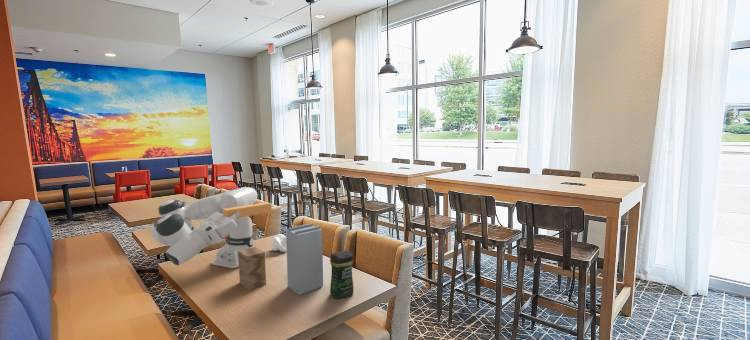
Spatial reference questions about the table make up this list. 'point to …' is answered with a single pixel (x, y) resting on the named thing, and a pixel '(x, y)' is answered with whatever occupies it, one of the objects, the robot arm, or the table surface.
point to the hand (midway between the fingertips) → (236, 211)
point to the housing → (304, 258)
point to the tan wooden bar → (248, 210)
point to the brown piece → (252, 267)
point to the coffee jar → (341, 274)
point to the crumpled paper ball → (279, 243)
